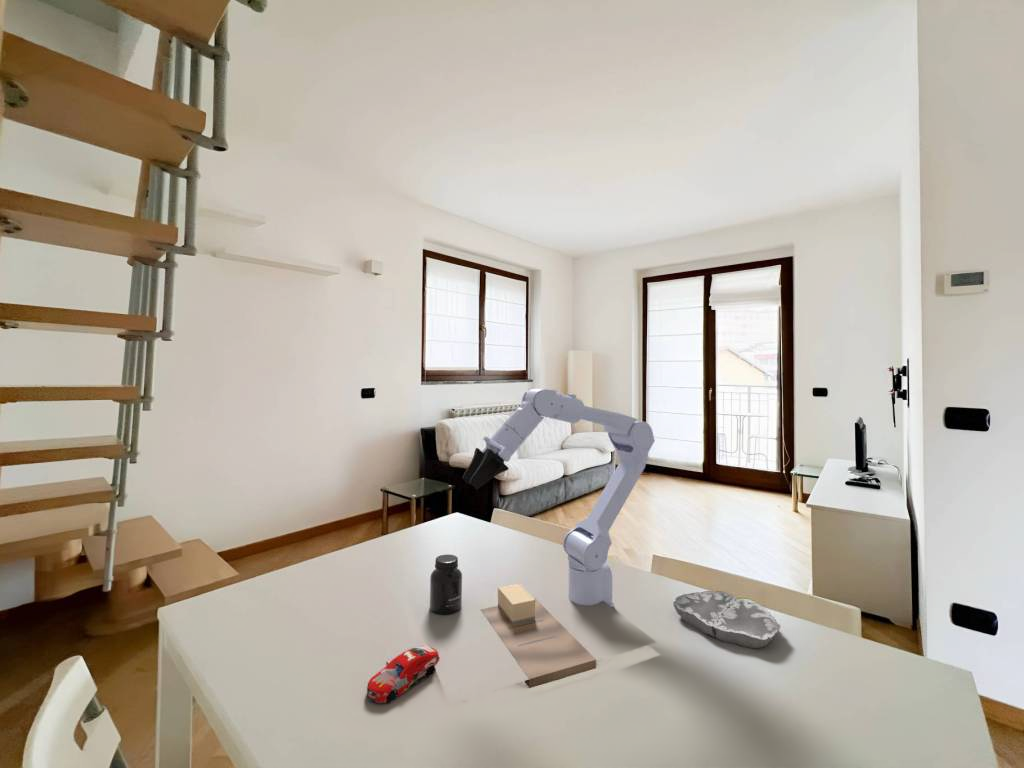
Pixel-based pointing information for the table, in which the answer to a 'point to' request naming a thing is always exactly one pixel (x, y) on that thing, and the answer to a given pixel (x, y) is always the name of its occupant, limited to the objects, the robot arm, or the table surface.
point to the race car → (402, 674)
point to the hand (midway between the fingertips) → (469, 483)
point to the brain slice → (728, 618)
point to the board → (541, 646)
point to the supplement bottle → (446, 586)
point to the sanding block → (516, 603)
